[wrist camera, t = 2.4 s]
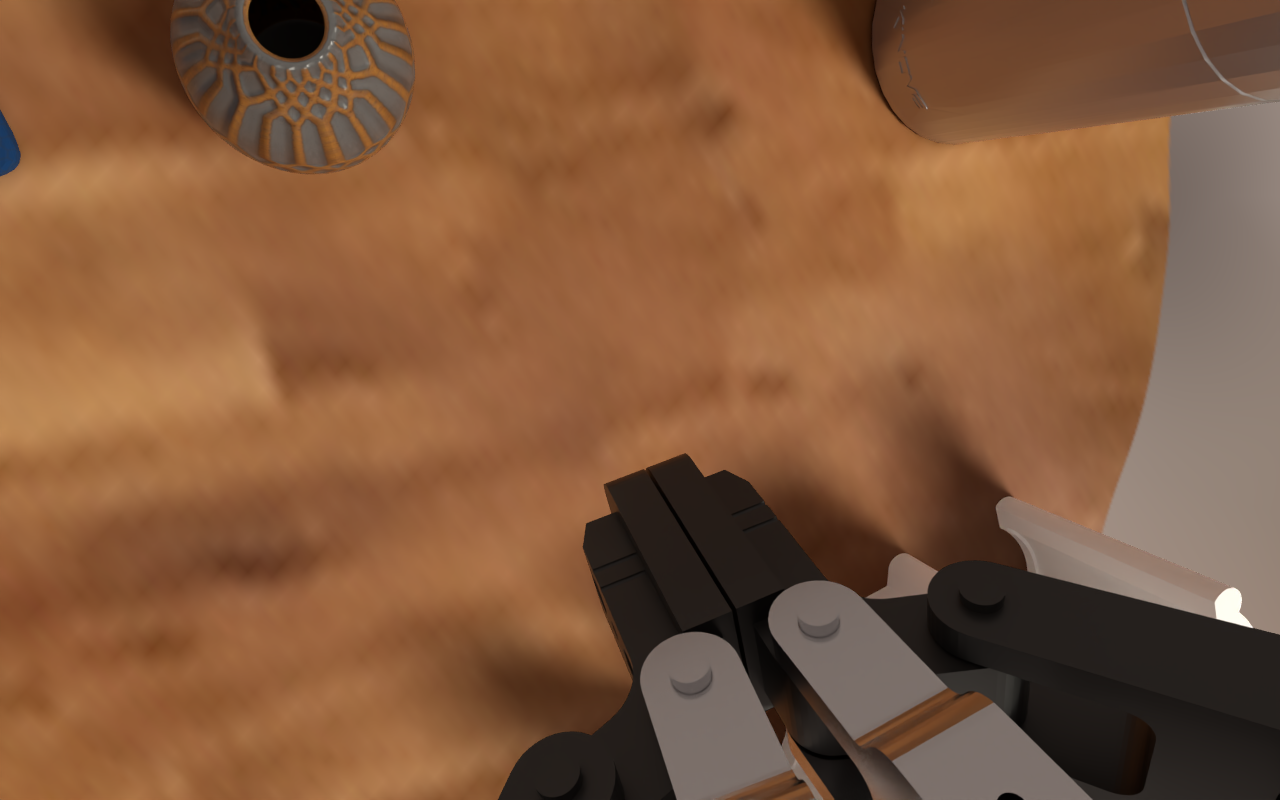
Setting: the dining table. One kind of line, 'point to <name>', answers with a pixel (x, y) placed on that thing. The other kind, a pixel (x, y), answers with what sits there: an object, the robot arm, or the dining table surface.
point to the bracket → (1076, 573)
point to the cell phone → (7, 148)
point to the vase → (296, 77)
